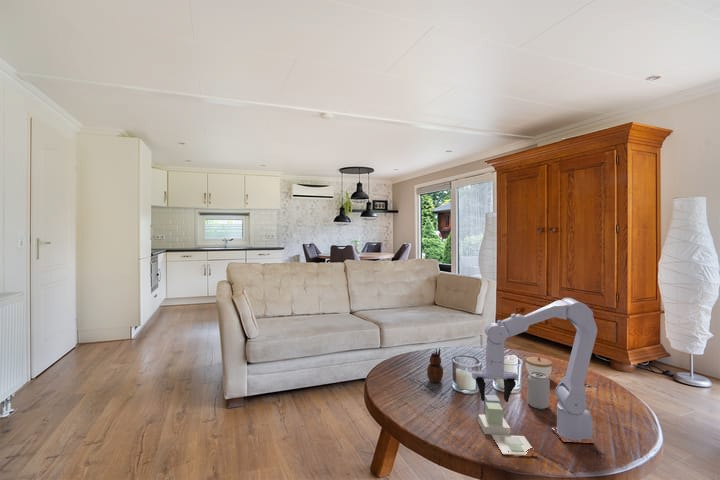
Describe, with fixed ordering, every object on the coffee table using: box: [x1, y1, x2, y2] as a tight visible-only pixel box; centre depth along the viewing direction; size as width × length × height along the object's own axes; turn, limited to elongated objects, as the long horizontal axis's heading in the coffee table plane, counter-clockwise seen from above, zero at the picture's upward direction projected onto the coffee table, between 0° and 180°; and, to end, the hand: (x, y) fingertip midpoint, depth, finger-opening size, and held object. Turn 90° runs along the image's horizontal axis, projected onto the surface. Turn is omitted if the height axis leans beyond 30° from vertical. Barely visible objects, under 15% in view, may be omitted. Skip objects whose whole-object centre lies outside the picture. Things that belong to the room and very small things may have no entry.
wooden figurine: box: [426, 347, 444, 384], centre depth 158 cm, size 7×6×15 cm
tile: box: [491, 434, 533, 455], centre depth 110 cm, size 10×10×1 cm
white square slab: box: [477, 413, 511, 436], centre depth 120 cm, size 8×8×3 cm
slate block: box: [483, 394, 501, 410], centre depth 132 cm, size 4×4×5 cm
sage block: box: [484, 402, 504, 425], centre depth 120 cm, size 4×4×5 cm
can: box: [526, 372, 551, 410], centre depth 136 cm, size 8×8×12 cm
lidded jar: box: [525, 356, 553, 378], centre depth 164 cm, size 11×11×9 cm
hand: (494, 400), depth 120 cm, fingers open, 7 cm apart
